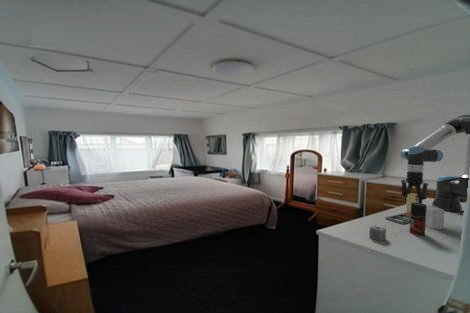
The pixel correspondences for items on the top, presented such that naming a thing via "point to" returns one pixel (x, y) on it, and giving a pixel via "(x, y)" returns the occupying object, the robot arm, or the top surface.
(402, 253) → the top surface
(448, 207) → the robot arm
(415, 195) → the tan wooden beam
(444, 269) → the top surface
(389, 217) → the grey flat frame
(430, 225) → the small box
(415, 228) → the deodorant
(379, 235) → the dice cube
